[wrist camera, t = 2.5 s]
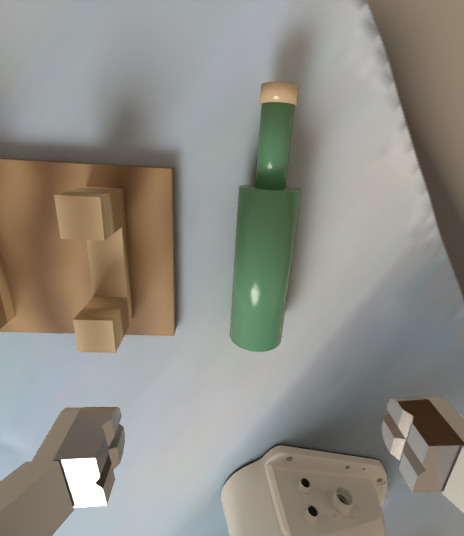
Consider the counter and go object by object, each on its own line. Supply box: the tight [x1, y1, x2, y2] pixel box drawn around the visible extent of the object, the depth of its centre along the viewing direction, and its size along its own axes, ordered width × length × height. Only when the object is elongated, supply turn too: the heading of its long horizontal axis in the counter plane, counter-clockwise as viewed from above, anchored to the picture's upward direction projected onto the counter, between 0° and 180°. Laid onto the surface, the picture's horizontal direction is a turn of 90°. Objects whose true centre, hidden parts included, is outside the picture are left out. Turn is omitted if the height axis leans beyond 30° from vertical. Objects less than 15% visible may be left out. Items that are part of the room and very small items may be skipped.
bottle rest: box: [0, 158, 176, 353], centre depth 25 cm, size 22×16×6 cm
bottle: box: [230, 82, 301, 352], centre depth 26 cm, size 21×5×5 cm, turn 177°
